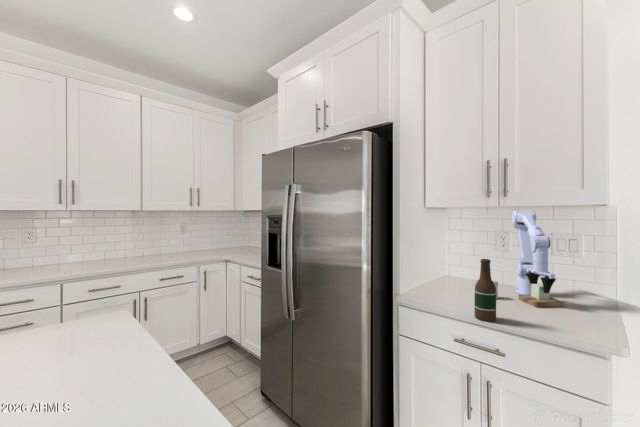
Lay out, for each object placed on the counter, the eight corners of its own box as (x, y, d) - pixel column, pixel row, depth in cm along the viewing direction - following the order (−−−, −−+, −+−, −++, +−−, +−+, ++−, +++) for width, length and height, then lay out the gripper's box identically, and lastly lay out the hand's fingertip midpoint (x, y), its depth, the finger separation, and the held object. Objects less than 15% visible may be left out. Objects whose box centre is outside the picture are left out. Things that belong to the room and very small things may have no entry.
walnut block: (518, 300, 146) (518, 294, 146) (542, 300, 146) (542, 294, 146) (537, 308, 134) (537, 302, 134) (563, 308, 134) (563, 301, 134)
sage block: (531, 296, 143) (531, 283, 143) (541, 296, 143) (541, 283, 143) (538, 299, 138) (539, 286, 138) (549, 299, 138) (549, 286, 138)
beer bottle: (488, 323, 116) (488, 261, 115) (470, 317, 123) (470, 258, 122) (500, 320, 119) (501, 259, 119) (482, 314, 126) (482, 257, 126)
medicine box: (493, 296, 151) (493, 279, 151) (498, 299, 147) (498, 281, 147) (477, 296, 152) (477, 279, 152) (481, 298, 148) (481, 281, 148)
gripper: (520, 259, 147) (520, 286, 147) (544, 264, 133) (543, 295, 133) (534, 258, 147) (534, 286, 148) (559, 264, 133) (559, 294, 133)
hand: (540, 290), depth 140 cm, fingers open, 7 cm apart
